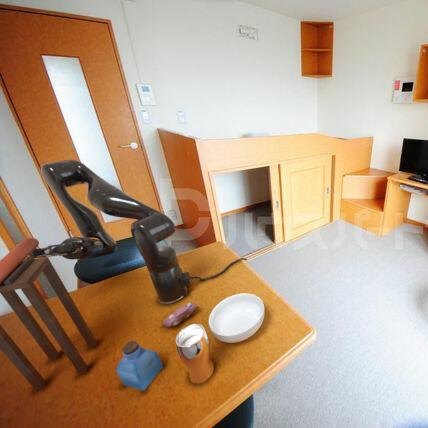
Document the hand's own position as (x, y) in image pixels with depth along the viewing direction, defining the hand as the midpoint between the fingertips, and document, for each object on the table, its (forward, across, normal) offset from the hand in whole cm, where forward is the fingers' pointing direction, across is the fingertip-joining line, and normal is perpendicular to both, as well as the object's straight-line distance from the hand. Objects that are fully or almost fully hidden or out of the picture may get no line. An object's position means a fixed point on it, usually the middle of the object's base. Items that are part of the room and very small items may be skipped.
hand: (51, 248), depth 69 cm
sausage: (+16, 0, +4) cm, 16 cm away
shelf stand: (+2, 0, +33) cm, 33 cm away
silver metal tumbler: (+18, +33, +43) cm, 57 cm away
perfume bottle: (+13, +19, +40) cm, 46 cm away
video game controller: (-1, +28, +32) cm, 42 cm away
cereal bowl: (+9, +45, +38) cm, 60 cm away
